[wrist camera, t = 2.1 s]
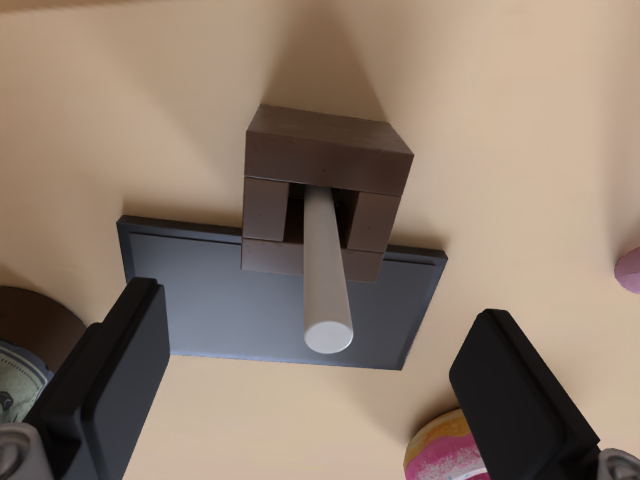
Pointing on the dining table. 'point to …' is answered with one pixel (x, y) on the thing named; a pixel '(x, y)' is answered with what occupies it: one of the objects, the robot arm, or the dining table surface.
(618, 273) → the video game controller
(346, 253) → the pen holder
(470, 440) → the donut
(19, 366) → the rum bottle
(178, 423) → the dining table surface
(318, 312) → the stylus
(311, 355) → the tablet
